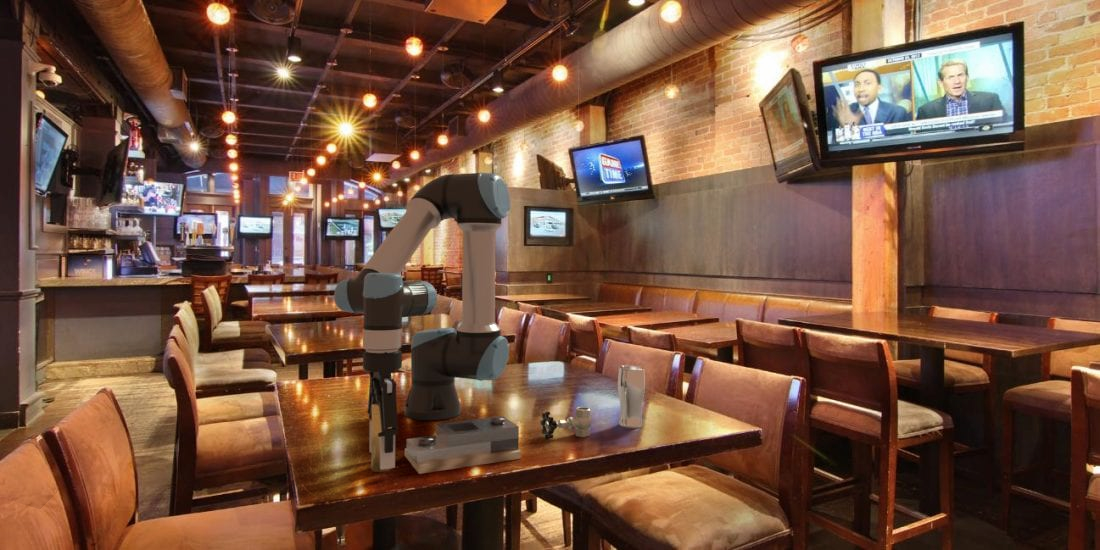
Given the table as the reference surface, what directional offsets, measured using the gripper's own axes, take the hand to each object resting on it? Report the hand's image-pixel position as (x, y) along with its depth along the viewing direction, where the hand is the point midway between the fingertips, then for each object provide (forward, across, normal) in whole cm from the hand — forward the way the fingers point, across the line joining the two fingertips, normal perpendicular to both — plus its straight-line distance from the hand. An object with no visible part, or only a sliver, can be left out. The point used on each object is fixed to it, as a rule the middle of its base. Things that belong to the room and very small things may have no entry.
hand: (381, 459), depth 120 cm
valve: (+2, +4, -45) cm, 45 cm away
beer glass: (+2, +6, -64) cm, 65 cm away
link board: (+2, 0, -17) cm, 17 cm away
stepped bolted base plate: (0, 0, -17) cm, 17 cm away
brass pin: (+2, 0, 0) cm, 2 cm away
